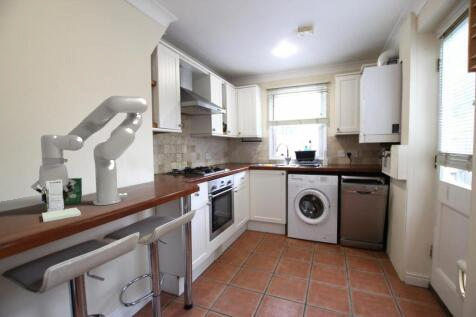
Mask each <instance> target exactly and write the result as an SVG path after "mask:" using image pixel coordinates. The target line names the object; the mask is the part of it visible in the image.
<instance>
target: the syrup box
mask: <svg viewBox="0 0 476 317" xmlns="http://www.w3.org/2000/svg"><path fill="white" fill-rule="evenodd" d="M45 193H46V203H45V204H46V212H52V211H58V210H64V208H65V204H64V197H63V186H62V180H51V181H46V191H45Z"/></svg>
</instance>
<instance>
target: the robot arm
mask: <svg viewBox="0 0 476 317" xmlns="http://www.w3.org/2000/svg"><path fill="white" fill-rule="evenodd" d="M148 104H149V103H148V101H147V100H146V99H144V98H143V97H140V96H128V95H126V96H125V95H111V96H109V97H107V98H105V99H104V100H103V101H102V102H101V103H100V104H99V105H98V106H97V107H96V108H94V109H93V110H92V111H91V112H90V113H89V114H88V115H87V116H86V117H84V119H82V120H81V121H80V123H78V124H77V125H76V126H75V127H74V128H73V129H72V130H71V131H69V132H68V134H65V135H58V134H43V135H41V137H40V147H41V149H40V150H41V165H40V166H39V170H38V180H36V182H35V183H33V184H32V185H31V186H30V188H31V189H33V190H34V191H36V192H38V193H39V194H41V201H42V202H44V204H46V181H51V180H62V186H63V188H64V191H63V197H64V200H66V198H68V190H69V189H70V188H71V187H72V186H73V185H74V184H75V183H76V182H74V181H73V180H71V179H70V177H69V174H68V169H67V168H68V167H67V165H66V164H65V163H68V158H64V151H70V152H71V151H73V152H75V151H79V150H81V149H82V148H83V147H84V144H85V142H86V141H87V140H88V139H89V138H90V137H92V136H93V135H95V133H97V132H99V131H101V130H102V129H103V128H104V127H105V126H106V125H108V123H110V122H111V121H112V120H113V119H114V118H115V117H116V116H117V115H118V114H121V113H122V114H126V117H125V118H124V119H123V121H122V122H121V123H120V124H118V125H117V126H116V127H115V128H114V129H113V130H112V131H110V132H111V133H110V136H109V137H108V138H107V140H106V141H104V142H99V143H98V144H96V146H95V147H94V148H93V161H94V169H95V170H94V172H95V191H96V192H95V193H96V194H95V195H96V200H95V199H94V200H93V202H92V204H93V205H95V206H107V205H113V204H114V205H115V204H117V203H120V202H121V201H122V198H123V197H124V198H125V197H128V192H118V175H117V173H118V172H117V162H116V160H117V159H119V158H120V157H121V156H122V155H123V154H124V153H125V151H127V150H128V149H129V148H130V147H131V145H132V144H133V143H134V141H135V139H136V132H137V131H138V130H139V129H140V127H141V126H142V124H143V113H145V112H146V111H147V110H148V108H149V105H148ZM68 181H69V182H71V184H70V185H69V186H68V187H66V185H68ZM38 186H39V187H40V188H41V189H40V188H39V187H38Z"/></svg>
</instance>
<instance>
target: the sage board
mask: <svg viewBox="0 0 476 317" xmlns="http://www.w3.org/2000/svg"><path fill="white" fill-rule="evenodd" d="M79 216H82V213H81V211H80V210H79V209H78V207H72V208H65V209H63V210H58V211H52V212H47V211H46V212H41V217H42V221H43V222H44V223H45V222H53V221H58V220H62V219H66V218H67V219H69V218H72V217H79Z"/></svg>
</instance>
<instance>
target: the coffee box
mask: <svg viewBox="0 0 476 317" xmlns="http://www.w3.org/2000/svg"><path fill="white" fill-rule="evenodd" d="M69 178H70V177H69ZM70 179H71V180H73V181H74V182H76V183H75V184H74V185H73V186H72V187H71V188H70V189H69V190H68V198H66V200H64V205H68V204H69V205H70V204H80V203H82V202H83V185H82V184H83V181H82V180H83V178H82V177H74V178H73V177H71V178H70ZM70 184H71V182H69V181H68V185H66V187H68V186H69V185H70ZM63 191H64V188H63Z"/></svg>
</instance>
